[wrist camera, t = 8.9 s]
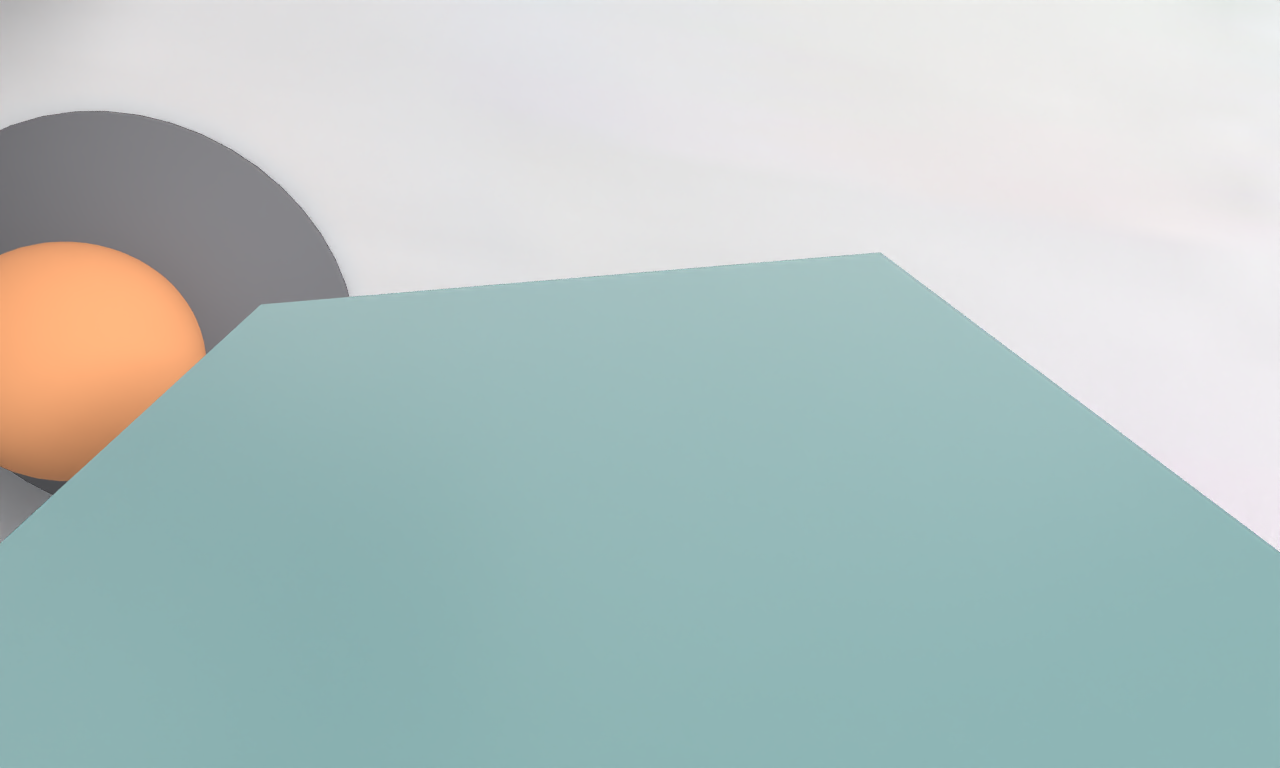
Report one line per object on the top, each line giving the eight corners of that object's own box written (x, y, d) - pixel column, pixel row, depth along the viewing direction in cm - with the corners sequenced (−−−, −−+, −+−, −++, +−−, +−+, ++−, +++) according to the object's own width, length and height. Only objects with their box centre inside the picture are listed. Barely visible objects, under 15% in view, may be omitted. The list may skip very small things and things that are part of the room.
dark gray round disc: (388, 494, 24) (387, 498, 24) (-10, 534, 24) (-15, 538, 24) (310, 93, 20) (308, 94, 20) (-168, 130, 20) (-175, 131, 20)
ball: (-89, 504, 19) (112, 407, 24) (93, 545, 18) (273, 434, 22) (-177, 270, 17) (60, 211, 22) (18, 292, 16) (232, 224, 20)
